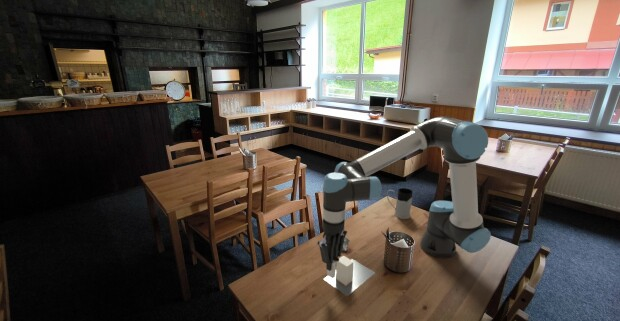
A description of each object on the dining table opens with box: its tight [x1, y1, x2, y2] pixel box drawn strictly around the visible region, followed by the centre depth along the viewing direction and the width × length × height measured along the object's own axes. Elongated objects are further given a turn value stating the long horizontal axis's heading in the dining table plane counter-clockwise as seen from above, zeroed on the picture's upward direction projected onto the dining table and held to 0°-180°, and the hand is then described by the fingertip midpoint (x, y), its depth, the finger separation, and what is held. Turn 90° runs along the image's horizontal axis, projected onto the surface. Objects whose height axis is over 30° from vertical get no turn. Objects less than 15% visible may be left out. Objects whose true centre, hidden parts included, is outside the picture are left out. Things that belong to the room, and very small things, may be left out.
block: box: [335, 255, 354, 286], centre depth 110 cm, size 4×5×9 cm
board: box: [323, 258, 376, 297], centre depth 114 cm, size 18×12×1 cm, turn 134°
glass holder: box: [386, 187, 413, 220], centre depth 162 cm, size 9×14×15 cm, turn 59°
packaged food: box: [342, 236, 351, 252], centre depth 133 cm, size 9×12×5 cm
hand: (330, 275), depth 104 cm, fingers closed
